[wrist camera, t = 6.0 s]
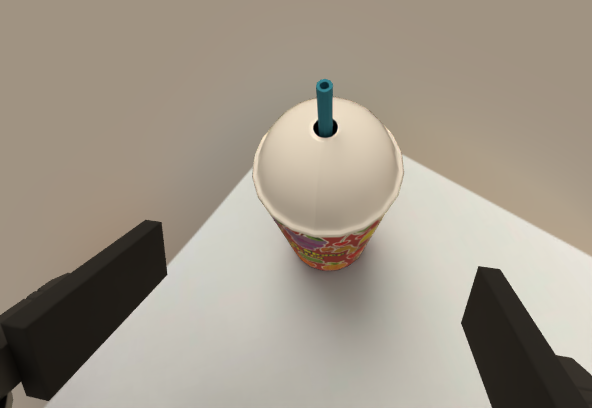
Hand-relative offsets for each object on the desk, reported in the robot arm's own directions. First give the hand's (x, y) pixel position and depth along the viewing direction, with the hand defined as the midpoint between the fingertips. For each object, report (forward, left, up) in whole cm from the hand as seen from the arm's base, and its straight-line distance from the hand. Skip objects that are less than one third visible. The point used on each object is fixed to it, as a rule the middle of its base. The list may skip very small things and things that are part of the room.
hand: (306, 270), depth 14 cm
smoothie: (0, +7, -16) cm, 18 cm away
